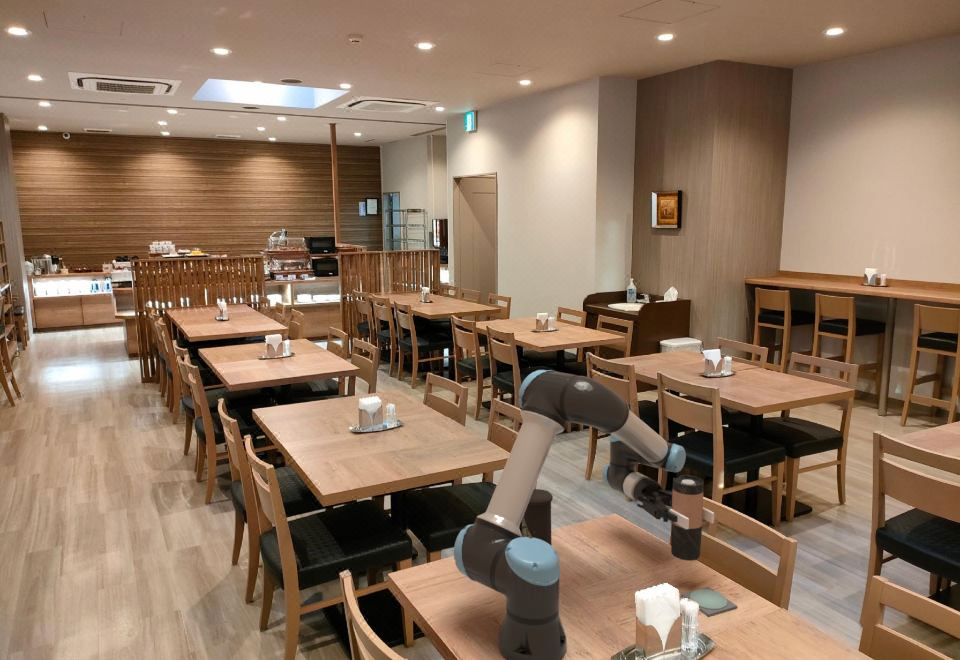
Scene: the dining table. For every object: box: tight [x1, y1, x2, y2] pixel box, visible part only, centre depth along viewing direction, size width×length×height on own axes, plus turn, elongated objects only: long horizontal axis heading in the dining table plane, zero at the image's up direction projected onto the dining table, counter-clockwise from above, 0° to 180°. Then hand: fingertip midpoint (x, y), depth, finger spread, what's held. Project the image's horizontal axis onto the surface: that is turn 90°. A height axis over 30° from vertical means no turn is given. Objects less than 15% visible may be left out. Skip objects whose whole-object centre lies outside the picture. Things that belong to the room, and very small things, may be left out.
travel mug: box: [670, 474, 705, 561], centre depth 174 cm, size 8×8×20 cm
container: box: [521, 488, 553, 547], centre depth 190 cm, size 9×9×20 cm
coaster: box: [680, 586, 738, 618], centre depth 169 cm, size 9×10×1 cm
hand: (700, 521), depth 170 cm, fingers closed on travel mug, 7 cm apart
